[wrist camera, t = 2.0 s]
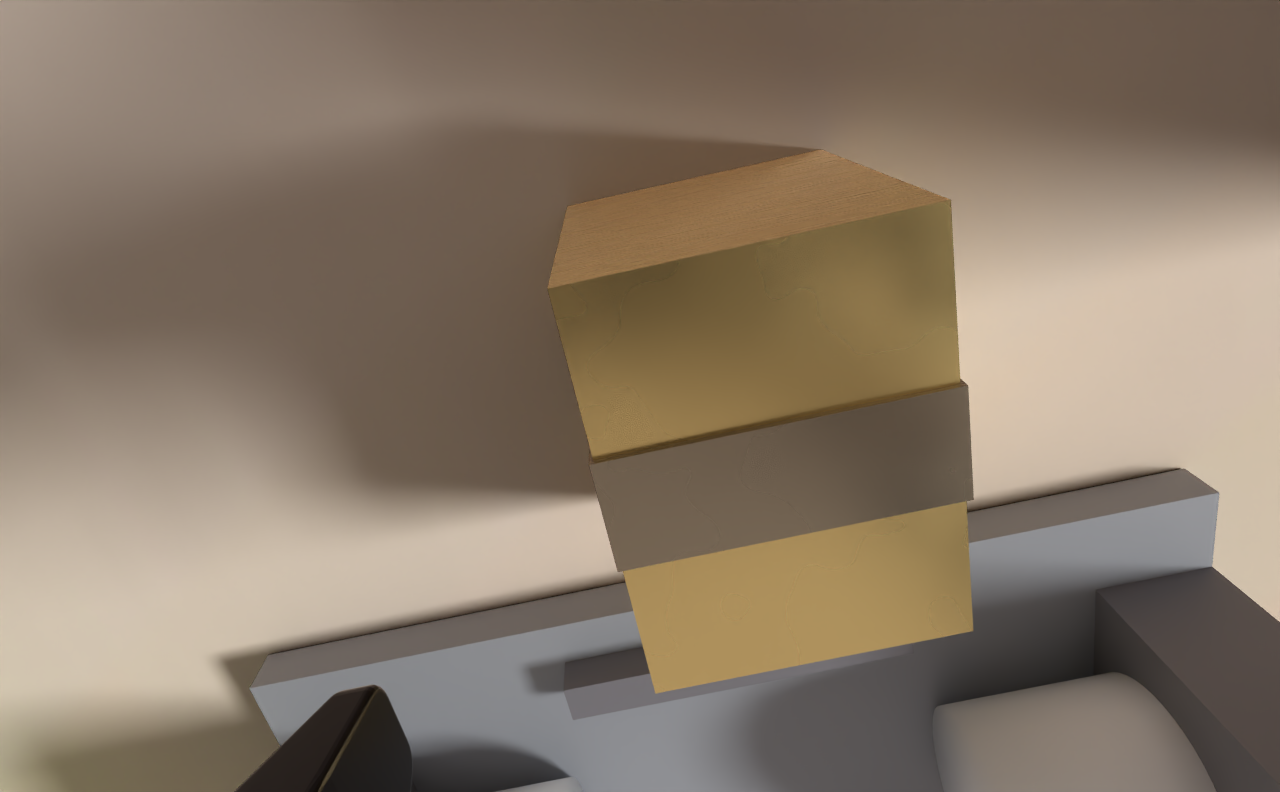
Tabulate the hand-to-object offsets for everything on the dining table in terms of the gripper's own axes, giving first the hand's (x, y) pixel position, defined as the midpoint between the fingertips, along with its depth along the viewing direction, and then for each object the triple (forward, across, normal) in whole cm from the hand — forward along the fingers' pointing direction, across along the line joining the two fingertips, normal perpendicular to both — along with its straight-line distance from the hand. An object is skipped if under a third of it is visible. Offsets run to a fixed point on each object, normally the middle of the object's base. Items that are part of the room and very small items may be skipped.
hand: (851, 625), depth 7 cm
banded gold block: (+8, 0, 0) cm, 8 cm away
